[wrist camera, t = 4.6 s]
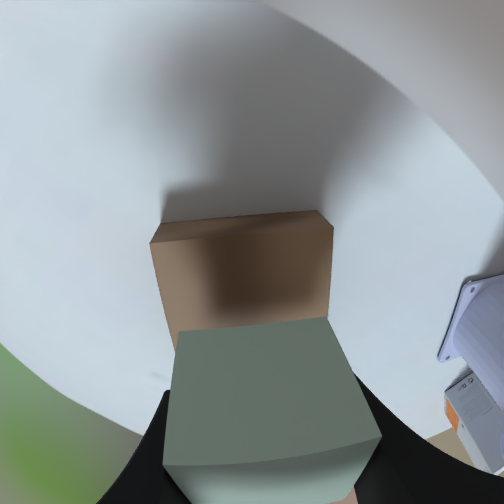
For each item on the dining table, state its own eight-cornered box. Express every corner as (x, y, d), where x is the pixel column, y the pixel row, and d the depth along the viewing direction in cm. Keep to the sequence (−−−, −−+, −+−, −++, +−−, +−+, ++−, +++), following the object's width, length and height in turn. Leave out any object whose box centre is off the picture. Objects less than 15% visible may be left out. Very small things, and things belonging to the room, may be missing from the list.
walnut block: (314, 208, 16) (333, 227, 13) (310, 329, 19) (322, 360, 16) (161, 221, 15) (149, 243, 13) (185, 341, 19) (182, 375, 16)
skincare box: (442, 392, 25) (492, 474, 14) (473, 370, 24) (527, 446, 13) (443, 413, 27) (483, 485, 16) (470, 394, 27) (514, 462, 16)
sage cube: (326, 316, 10) (382, 436, 6) (315, 403, 12) (344, 499, 8) (178, 331, 10) (162, 465, 5) (202, 415, 12) (203, 517, 7)
